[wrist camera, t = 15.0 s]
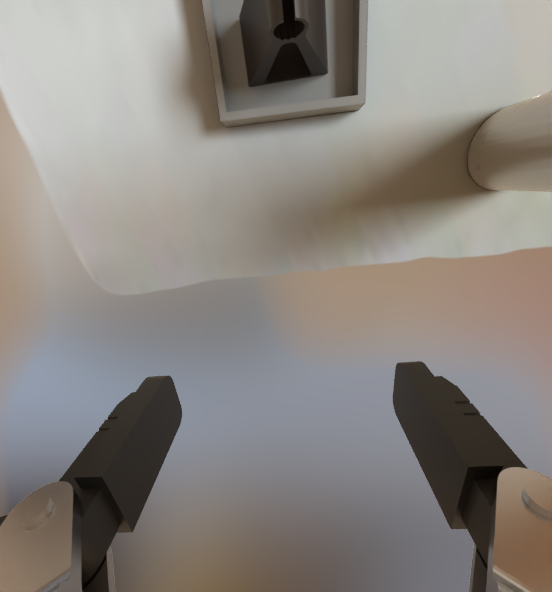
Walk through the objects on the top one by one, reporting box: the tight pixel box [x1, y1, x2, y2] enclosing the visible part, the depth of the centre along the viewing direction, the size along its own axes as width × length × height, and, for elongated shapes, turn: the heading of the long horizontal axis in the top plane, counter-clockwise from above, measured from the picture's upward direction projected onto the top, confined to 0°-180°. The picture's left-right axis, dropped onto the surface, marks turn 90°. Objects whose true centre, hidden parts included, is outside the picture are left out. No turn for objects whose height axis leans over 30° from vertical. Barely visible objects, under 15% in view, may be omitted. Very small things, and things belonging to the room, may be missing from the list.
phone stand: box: [239, 0, 328, 87], centre depth 23 cm, size 9×6×12 cm, turn 97°
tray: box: [202, 0, 368, 127], centre depth 28 cm, size 16×14×3 cm
